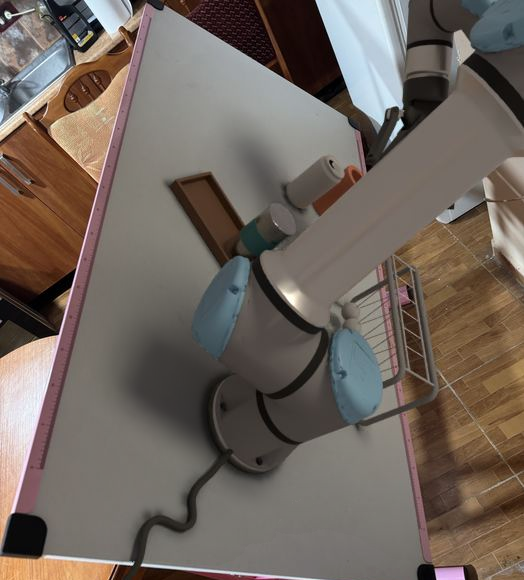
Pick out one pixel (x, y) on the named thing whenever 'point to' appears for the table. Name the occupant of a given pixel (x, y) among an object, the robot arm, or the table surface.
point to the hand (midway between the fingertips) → (415, 209)
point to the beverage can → (315, 181)
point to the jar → (338, 189)
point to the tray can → (262, 233)
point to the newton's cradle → (397, 333)
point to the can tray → (209, 211)
